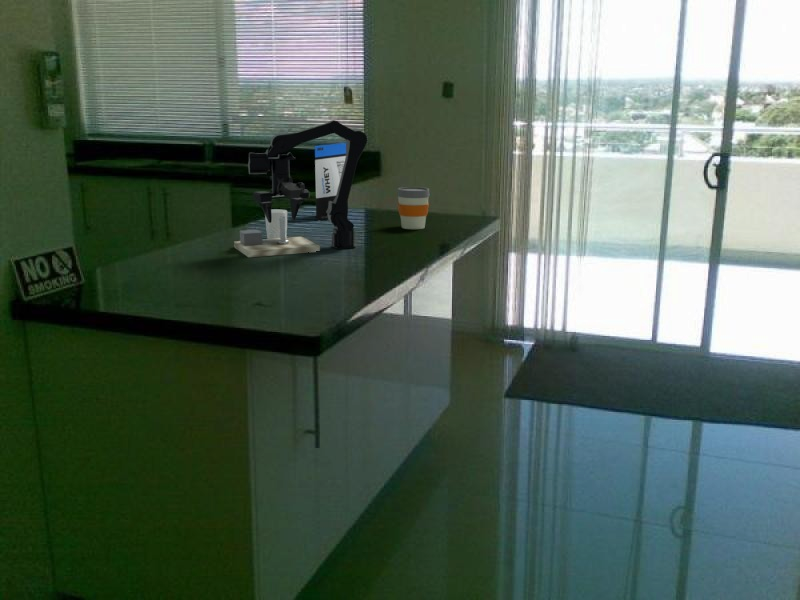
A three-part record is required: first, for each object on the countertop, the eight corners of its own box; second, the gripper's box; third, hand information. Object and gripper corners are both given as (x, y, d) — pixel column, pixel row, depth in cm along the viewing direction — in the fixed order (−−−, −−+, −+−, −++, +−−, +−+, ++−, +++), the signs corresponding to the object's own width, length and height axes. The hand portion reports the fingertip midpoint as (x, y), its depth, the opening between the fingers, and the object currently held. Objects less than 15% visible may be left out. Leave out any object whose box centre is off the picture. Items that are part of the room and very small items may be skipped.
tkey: (263, 240, 268) (262, 215, 266) (289, 240, 269) (288, 215, 267) (261, 245, 260) (260, 219, 258) (288, 244, 261) (288, 219, 259)
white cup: (261, 239, 282) (260, 211, 280) (273, 236, 290) (272, 208, 287) (280, 241, 280) (280, 213, 277) (292, 237, 287) (291, 210, 284)
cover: (257, 241, 268) (257, 229, 267) (262, 244, 263) (262, 232, 262) (240, 242, 266) (239, 230, 265) (244, 245, 261) (244, 233, 260)
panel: (302, 242, 278) (301, 236, 278) (319, 251, 263) (319, 245, 262) (234, 247, 268) (233, 241, 268) (248, 257, 253) (248, 251, 252)
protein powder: (356, 214, 342) (356, 143, 334) (326, 222, 321) (325, 146, 313) (337, 212, 346) (336, 142, 339) (306, 220, 325) (304, 145, 318)
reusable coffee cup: (435, 226, 313) (435, 188, 309) (418, 231, 302) (419, 191, 299) (407, 223, 319) (408, 186, 315) (390, 227, 309) (391, 189, 305)
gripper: (269, 177, 247) (270, 227, 251) (318, 174, 259) (319, 221, 263) (250, 174, 255) (252, 222, 259) (299, 171, 267) (300, 217, 271)
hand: (282, 221), depth 263 cm, fingers open, 9 cm apart
